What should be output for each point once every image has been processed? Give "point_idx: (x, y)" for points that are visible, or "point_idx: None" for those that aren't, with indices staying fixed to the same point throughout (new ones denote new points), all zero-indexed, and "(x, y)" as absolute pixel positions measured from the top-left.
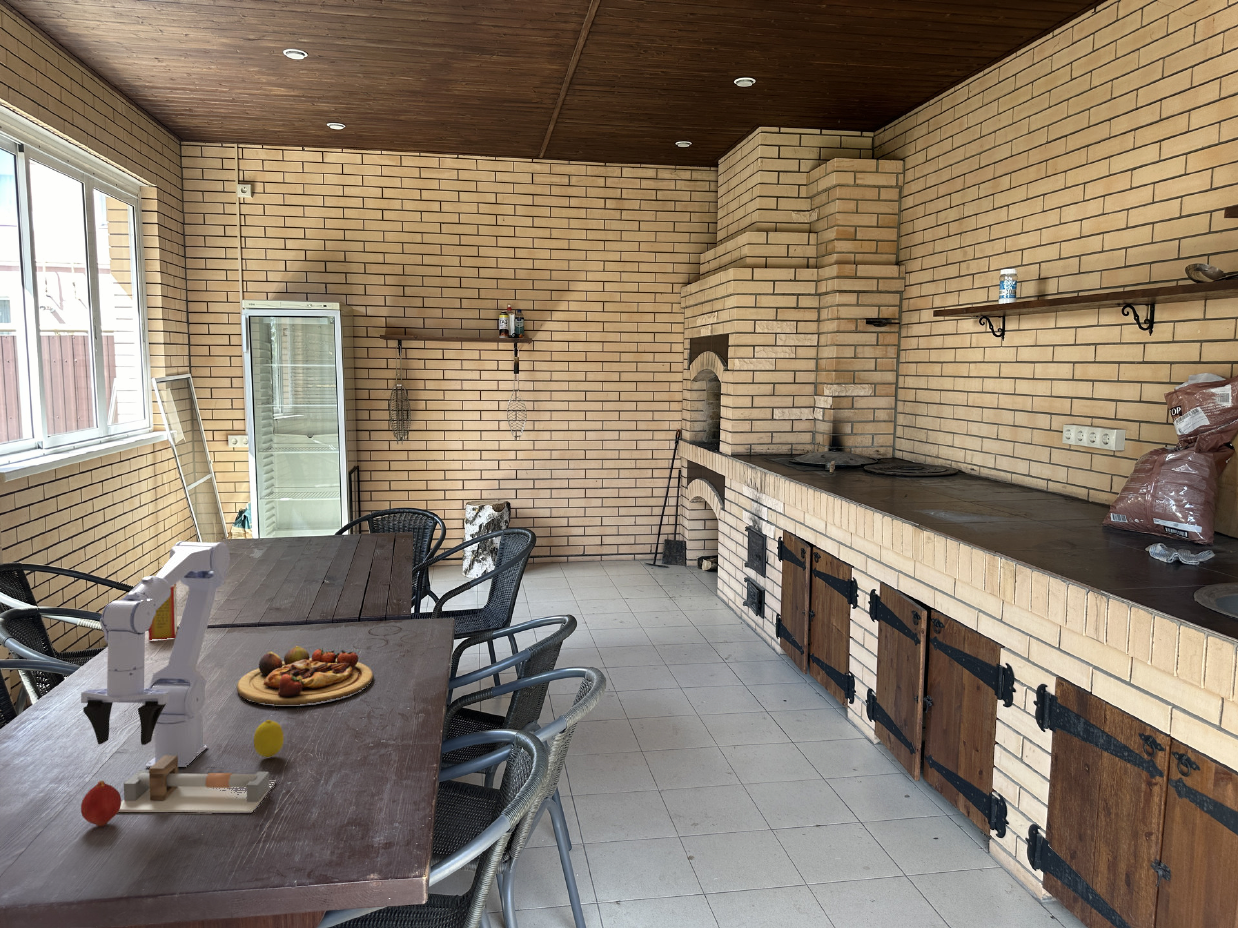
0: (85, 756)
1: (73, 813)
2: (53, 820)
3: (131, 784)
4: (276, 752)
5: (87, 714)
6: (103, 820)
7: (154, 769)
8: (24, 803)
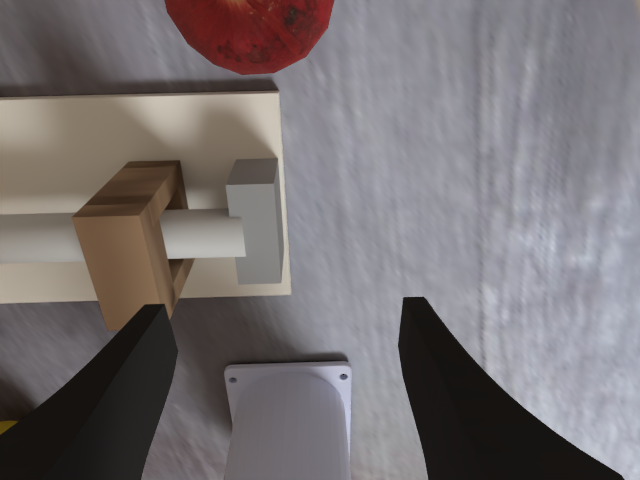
0: (555, 403)
1: (424, 77)
2: (473, 18)
3: (242, 183)
4: None
5: (567, 452)
6: None
7: (114, 212)
8: (632, 140)
